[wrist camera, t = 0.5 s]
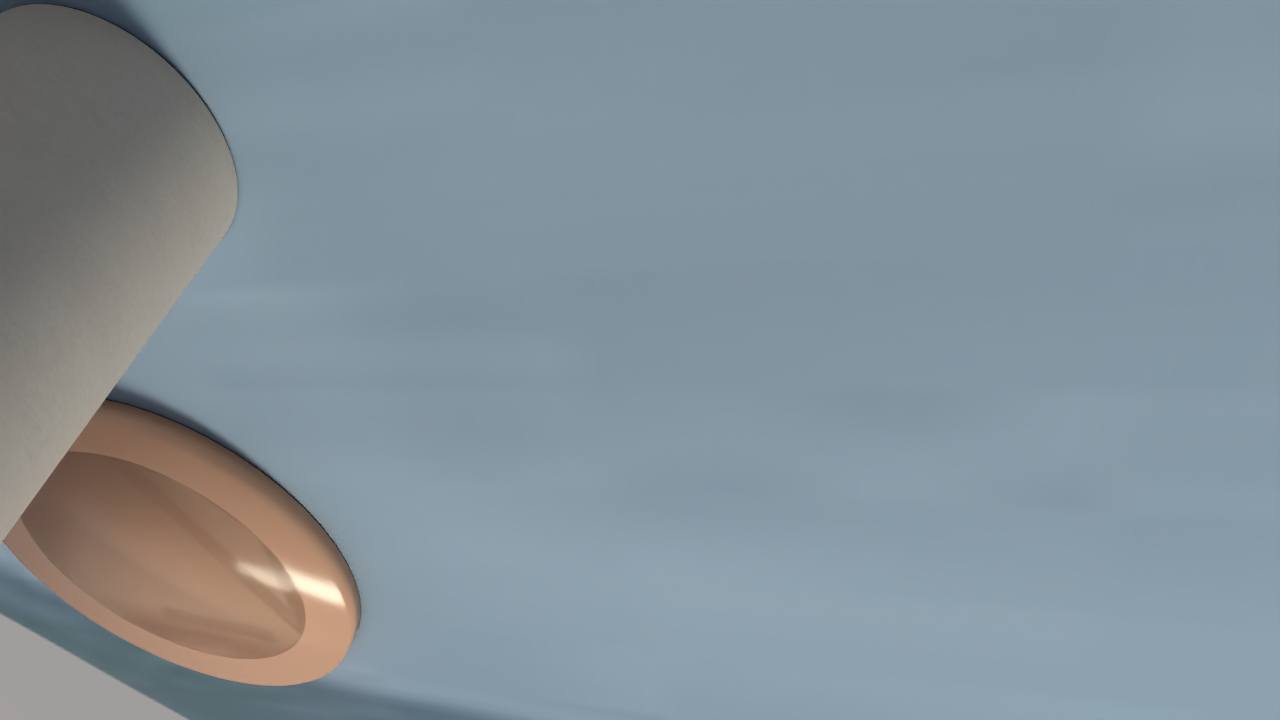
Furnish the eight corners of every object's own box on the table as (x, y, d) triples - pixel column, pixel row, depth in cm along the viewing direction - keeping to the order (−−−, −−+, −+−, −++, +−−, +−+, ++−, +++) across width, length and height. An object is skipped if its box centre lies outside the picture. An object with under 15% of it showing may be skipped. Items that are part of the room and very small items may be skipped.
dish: (-55, 337, 34) (-75, 355, 33) (365, 490, 33) (352, 511, 32) (28, 584, 43) (14, 602, 42) (358, 709, 42) (348, 729, 41)
